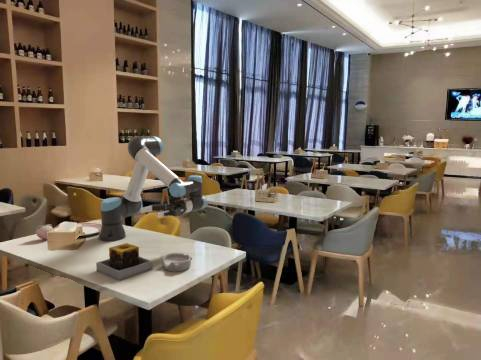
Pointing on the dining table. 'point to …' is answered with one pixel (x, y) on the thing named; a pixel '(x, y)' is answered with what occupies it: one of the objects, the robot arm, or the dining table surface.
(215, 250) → the dining table surface
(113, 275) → the tray
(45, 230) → the decorative fruit
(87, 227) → the dinner plate
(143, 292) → the dining table surface
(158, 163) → the robot arm
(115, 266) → the candle
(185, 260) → the dish
